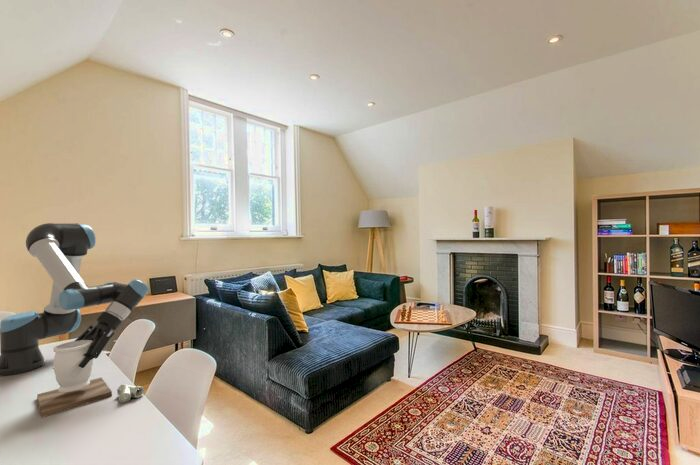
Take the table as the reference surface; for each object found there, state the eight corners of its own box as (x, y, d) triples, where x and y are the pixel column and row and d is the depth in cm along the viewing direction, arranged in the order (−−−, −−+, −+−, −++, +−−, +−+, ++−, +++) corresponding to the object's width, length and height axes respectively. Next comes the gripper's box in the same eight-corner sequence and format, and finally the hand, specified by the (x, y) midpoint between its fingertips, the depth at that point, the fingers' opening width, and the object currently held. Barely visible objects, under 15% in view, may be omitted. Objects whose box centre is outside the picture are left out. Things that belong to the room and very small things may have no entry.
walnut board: (37, 398, 115) (37, 394, 115) (101, 381, 128) (101, 377, 128) (41, 417, 103) (41, 412, 103) (111, 395, 116) (111, 391, 116)
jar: (60, 397, 108) (59, 351, 108) (49, 390, 114) (48, 346, 114) (99, 384, 117) (98, 342, 117) (86, 378, 123) (85, 337, 123)
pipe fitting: (126, 406, 109) (144, 395, 116) (124, 394, 109) (143, 384, 116) (108, 403, 112) (126, 392, 118) (107, 392, 112) (125, 381, 118)
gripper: (137, 324, 124) (89, 384, 110) (105, 318, 134) (58, 372, 121) (122, 313, 119) (69, 374, 105) (90, 308, 130) (38, 362, 116)
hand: (63, 373), depth 113 cm, fingers closed on jar, 10 cm apart
